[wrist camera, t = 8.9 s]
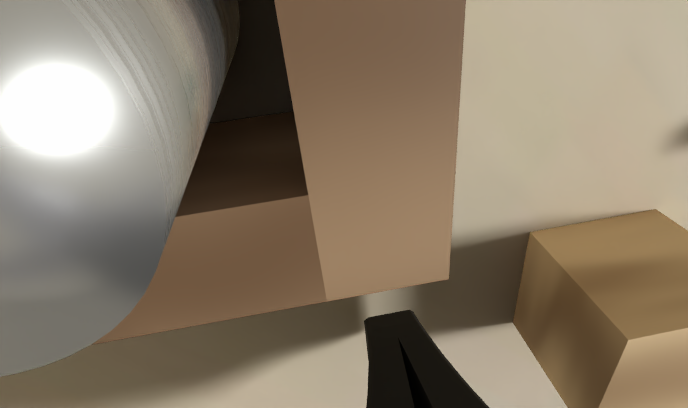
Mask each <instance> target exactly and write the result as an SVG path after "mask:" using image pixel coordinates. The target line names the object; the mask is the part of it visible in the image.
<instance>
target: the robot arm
mask: <svg viewBox="0 0 688 408" xmlns="http://www.w3.org/2000/svg"><path fill="white" fill-rule="evenodd" d="M364 324H365V333H366V342H367V351H368V360H369V372H368V396H367V407H366V408H489V407H488V406H487V405H486V404H485V403H484V401H483V400H482V399H481V398H480V397H479V396H478V395H477V394H476V393H475V392H474V391H473V389H472V388H471V387H470V386H469V385H468V384H467V383H466V381H465V380H464V379H463V378H462V377H461V376H460V374H459V373H458V372H457V371H456V370H455V368H454V367H453V366H452V365H451V364H450V362H449V361H448V360H447V359H446V358H445V356H444V355H443V354H442V352H441V351H440V350H439V349H438V347H437V346H436V345H435V343H434V342H433V341H432V339H431V338H430V336H429V335H428V334H427V332H426V331H425V329H424V328H423V326H422V325H421V323H420V322H419V320H418V319H417V317H416V316H415V314H414V312H412V311H411V310H406V311H400V312H395V313H390V314H384V315H379V316H374V317H369V318H367V319H366V320H365V321H364Z"/></svg>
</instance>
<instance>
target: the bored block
mask: <svg viewBox="0 0 688 408" xmlns="http://www.w3.org/2000/svg"><path fill="white" fill-rule="evenodd" d="M274 2H275V7H276V13H277V19H278V25H279V30H280V36H281V42H282V47H283V53H284V59H285V65H286V70H287V76H288V82H289V87H290V93H291V99H292V104H293V110H294V111H292V112H286V113H279V114H272V115H266V116H259V117H252V118H245V119H239V120H232V121H225V122H219V123H212V124H209V125H208V128H207V130H206V133H205V136H204V139H203V142H202V144H201V147H200V150H199V153H198V155H197V158H196V161H195V164H194V167H193V169H192V172H191V175H190V178H189V180H188V183H187V186H186V189H185V192H184V194H183V197H182V200H181V203H180V205H179V208H178V211H177V214H176V217H175V219H174V222H173V225H172V228H171V230H170V233H169V236H168V239H167V242H166V244H165V247H164V250H163V253H162V255H161V258H160V261H159V264H158V267H157V269H156V272H155V274H154V276H153V278H152V280H151V282H150V284H149V286H148V288H147V290H146V292H145V294H144V295H143V296H142V298H141V299H140V300H139V302H138V303H137V304H136V306H135V307H134V308H133V310H132V311H131V312H130V313H129V314H128V315H127V316H126V317H125V318H124V319H123V320H122V321H121V322H120V323H119V324H118V325H117V326H116V327H115V328H114V329H113V330H111V331H110V332H108V333H107V334H106V335H104V336H103V337H101V338H100V339H99V340H97V341H96V342H94V343H93V344H99V343H104V342H109V341H115V340H120V339H126V338H131V337H137V336H142V335H148V334H153V333H158V332H164V331H169V330H175V329H180V328H186V327H191V326H197V325H202V324H207V323H213V322H218V321H224V320H229V319H235V318H240V317H246V316H251V315H256V314H262V313H267V312H273V311H278V310H284V309H289V308H295V307H300V306H305V305H311V304H316V303H322V302H327V301H333V300H338V299H344V298H349V297H354V296H360V295H365V294H371V293H376V292H382V291H387V290H393V289H398V288H403V287H409V286H414V285H420V284H425V283H431V282H436V281H442V280H447V279H449V268H450V251H451V235H452V218H453V202H454V185H455V169H456V152H457V136H458V120H459V103H460V87H461V70H462V54H463V37H464V21H465V4H466V0H274ZM93 344H91V345H93Z"/></svg>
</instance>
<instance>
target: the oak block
mask: <svg viewBox="0 0 688 408" xmlns="http://www.w3.org/2000/svg"><path fill="white" fill-rule="evenodd" d="M513 324H514V325H515V327H516V328H517V330H518V331H519V333H520V334H521V336H522V338H523V339H524V341H525V342H526V344H527V345H528V347H529V348H530V350H531V351H532V353H533V355H534V356H535V358H536V359H537V361H538V362H539V364H540V365H541V367H542V368H543V370H544V372H545V373H546V375H547V376H548V378H549V379H550V381H551V382H552V384H553V386H554V387H555V389H556V390H557V392H558V393H559V395H560V396H561V398H562V399H563V401H564V403H565V404H566V406H567V407H568V408H688V231H687V230H686V229H684V228H683V227H681V226H680V225H678V224H677V223H675V222H674V221H672V220H671V219H669V218H668V217H667V216H665V215H664V214H662V213H661V212H659V211H658V210H656V209H654V210H649V211H643V212H638V213H632V214H627V215H621V216H616V217H610V218H605V219H599V220H594V221H588V222H583V223H577V224H572V225H566V226H561V227H555V228H550V229H544V230H539V231H533V232H530V235H529V240H528V245H527V250H526V256H525V261H524V266H523V271H522V277H521V282H520V287H519V292H518V298H517V303H516V308H515V313H514V319H513Z"/></svg>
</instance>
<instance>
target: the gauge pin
mask: <svg viewBox="0 0 688 408" xmlns="http://www.w3.org/2000/svg"><path fill="white" fill-rule="evenodd" d="M239 31H240V15H239V6H238V2H237V0H0V377H1V376H7V375H12V374H17V373H20V372H24V371H28V370H31V369H35V368H38V367H42V366H45V365H48V364H50V363H53V362H55V361H58V360H60V359H63V358H66V357H68V356H70V355H72V354H74V353H76V352H78V351H80V350H82V349H84V348H86V347H87V346H89V345H91V344H93V343H94V342H96V341H97V340H99V339H100V338H101V337H103V336H104V335H106V334H107V333H108V332H110V331H111V330H113V329H114V328H115V327H116V326H117V325H118V324H119V323H120V322H121V321H122V320H123V319H124V318H125V317H126V316H127V315H128V314H129V313H130V312H131V311H132V310H133V308H134V307H135V306H136V304H137V303H138V302H139V300H140V299H141V298H142V296H143V295H144V294H145V292H146V290H147V288H148V286H149V284H150V282H151V280H152V278H153V276H154V274H155V272H156V269H157V267H158V264H159V261H160V258H161V255H162V253H163V250H164V247H165V244H166V242H167V239H168V236H169V233H170V230H171V228H172V225H173V222H174V219H175V217H176V214H177V211H178V208H179V205H180V203H181V200H182V197H183V194H184V192H185V189H186V186H187V183H188V180H189V178H190V175H191V172H192V169H193V167H194V164H195V161H196V158H197V155H198V153H199V150H200V147H201V144H202V142H203V139H204V136H205V133H206V130H207V128H208V125H209V122H210V119H211V117H212V114H213V111H214V108H215V106H216V103H217V100H218V97H219V94H220V92H221V89H222V86H223V83H224V81H225V78H226V75H227V72H228V69H229V67H230V64H231V61H232V58H233V56H234V53H235V50H236V46H237V43H238V38H239Z"/></svg>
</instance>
